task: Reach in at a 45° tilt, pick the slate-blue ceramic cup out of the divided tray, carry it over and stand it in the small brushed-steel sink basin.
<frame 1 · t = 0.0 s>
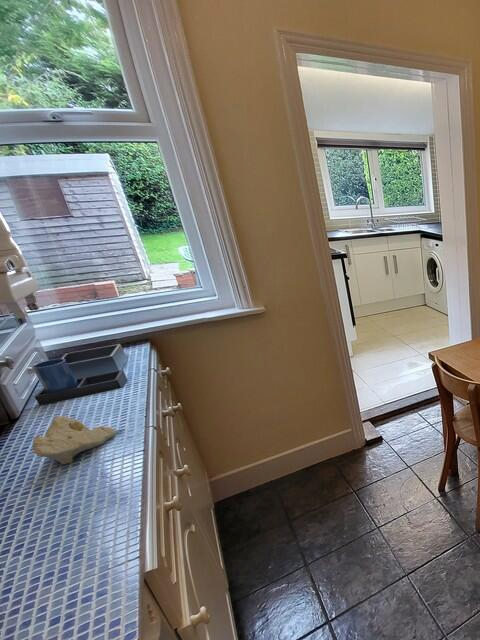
hand: (28, 313, 112), 26 cm above the worktop, tool pointing down, fingers open, 8 cm apart
divided tray: (86, 392, 124), on the worktop
sink: (96, 371, 140), on the worktop
cup: (67, 396, 122), resting in divided tray
cheese: (82, 459, 93), on the worktop
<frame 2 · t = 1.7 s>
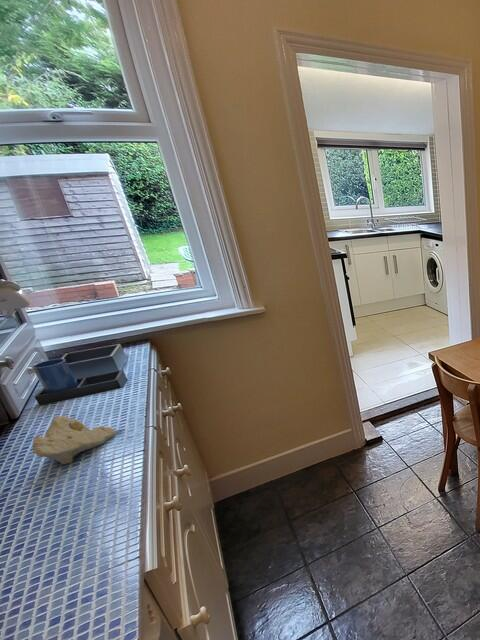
nothing on the worktop moved.
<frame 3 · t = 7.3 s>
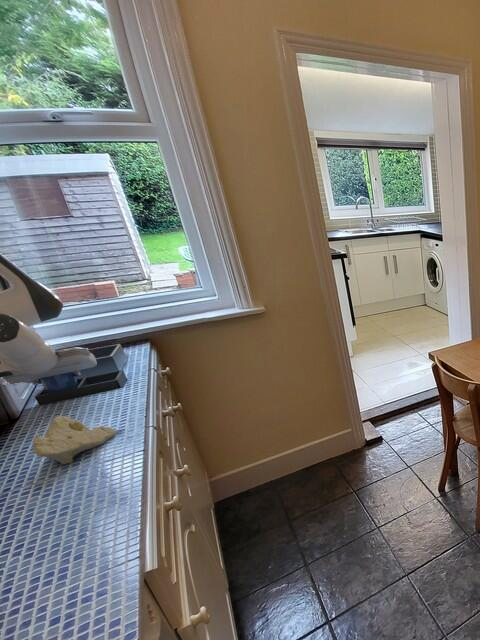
hand: (57, 378, 120), 6 cm above the worktop, tool tilted 45°, fingers closed on cup, 7 cm apart
cup: (67, 396, 122), resting in divided tray, touching gripper
everything else where it was.
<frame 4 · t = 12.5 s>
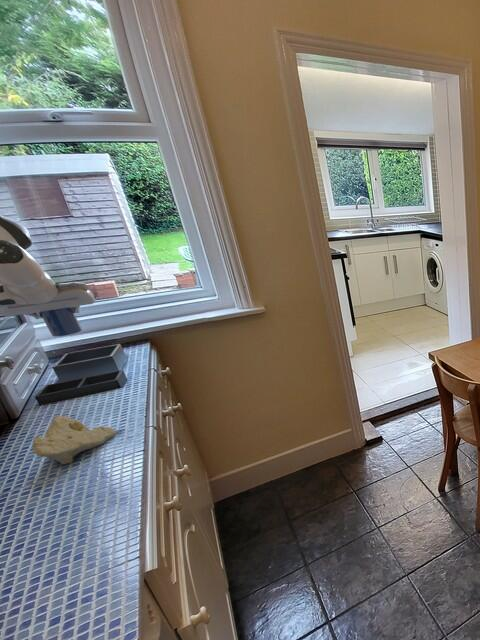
hand: (58, 314, 127), 21 cm above the worktop, tool tilted 45°, fingers closed on cup, 7 cm apart
cup: (67, 332, 129), point 15 cm above the worktop, touching gripper
everything else where it was.
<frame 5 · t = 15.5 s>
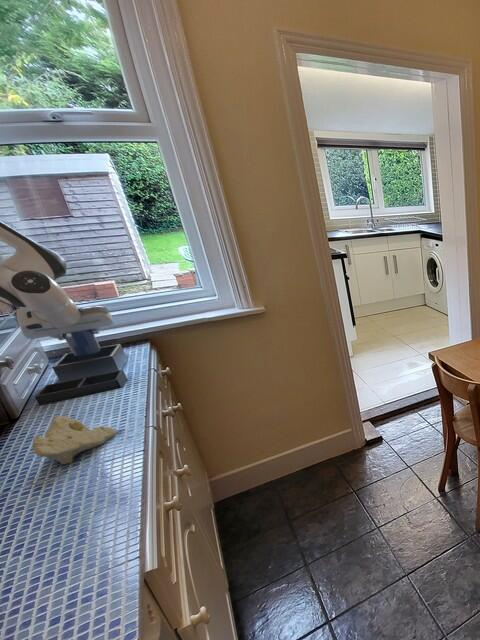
hand: (79, 335, 135), 13 cm above the worktop, tool tilted 45°, fingers closed on cup, 7 cm apart
cup: (87, 352, 137), point 7 cm above the worktop, touching gripper
everything else where it was.
when the fingers open (6 cm above the worktop, at t = 17.9 s): cup stays where it is, resting on sink.
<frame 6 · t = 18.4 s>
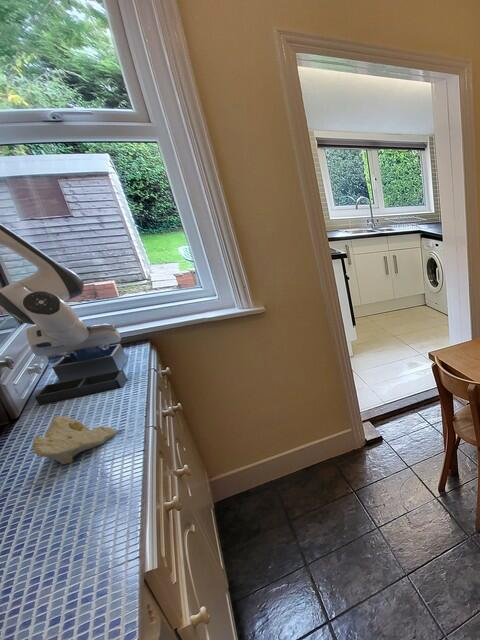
hand: (87, 351, 137), 7 cm above the worktop, tool tilted 45°, fingers open, 8 cm apart
cup: (96, 369, 139), point 1 cm above the worktop, touching sink
everything else where it was.
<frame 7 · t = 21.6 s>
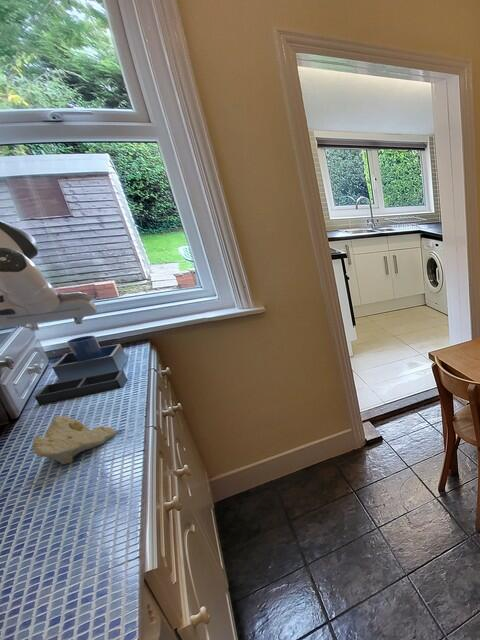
hand: (57, 325, 123), 19 cm above the worktop, tool tilted 45°, fingers open, 8 cm apart
nothing on the worktop moved.
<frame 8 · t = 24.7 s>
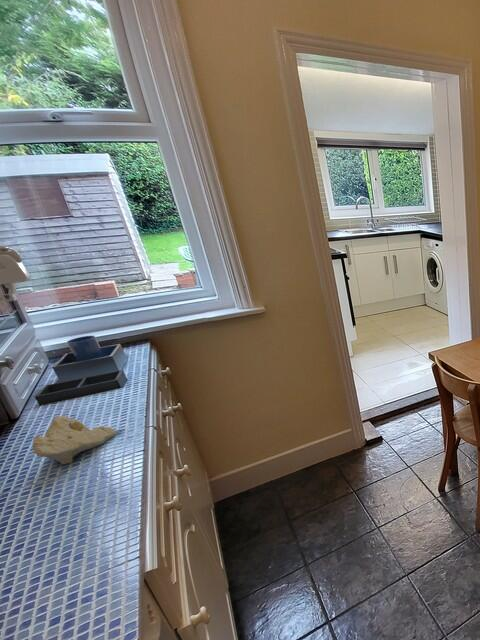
nothing on the worktop moved.
at the end: cup inside the target area in the sink (0.1 cm from its centre), point 0.6 cm above the sink's base; cup tilted 0°; the gripper is holding nothing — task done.
